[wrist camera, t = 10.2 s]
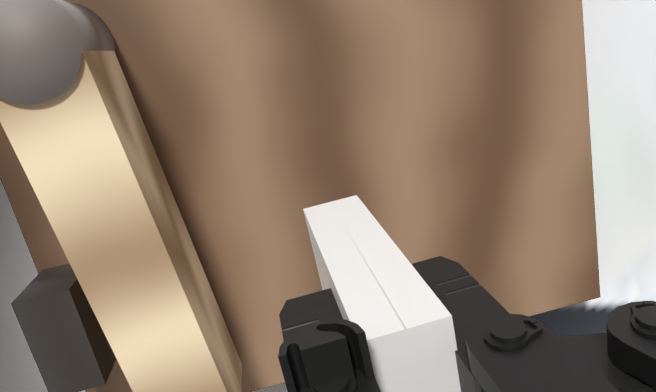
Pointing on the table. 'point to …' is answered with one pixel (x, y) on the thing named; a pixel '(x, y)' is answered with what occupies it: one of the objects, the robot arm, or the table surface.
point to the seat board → (339, 156)
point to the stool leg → (109, 198)
